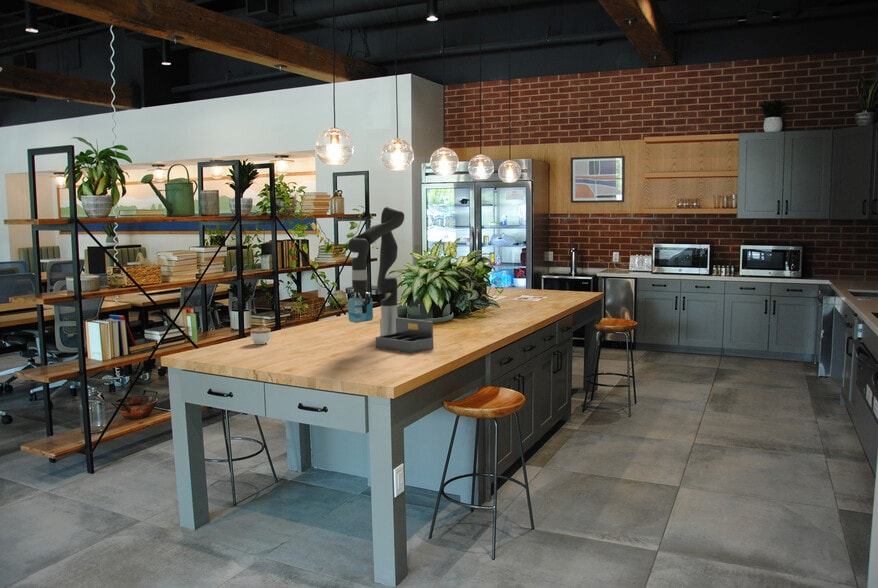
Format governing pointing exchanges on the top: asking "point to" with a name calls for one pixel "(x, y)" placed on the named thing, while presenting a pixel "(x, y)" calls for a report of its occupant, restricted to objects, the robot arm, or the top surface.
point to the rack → (408, 336)
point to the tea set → (416, 311)
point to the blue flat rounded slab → (359, 310)
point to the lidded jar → (260, 335)
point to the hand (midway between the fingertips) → (360, 312)
